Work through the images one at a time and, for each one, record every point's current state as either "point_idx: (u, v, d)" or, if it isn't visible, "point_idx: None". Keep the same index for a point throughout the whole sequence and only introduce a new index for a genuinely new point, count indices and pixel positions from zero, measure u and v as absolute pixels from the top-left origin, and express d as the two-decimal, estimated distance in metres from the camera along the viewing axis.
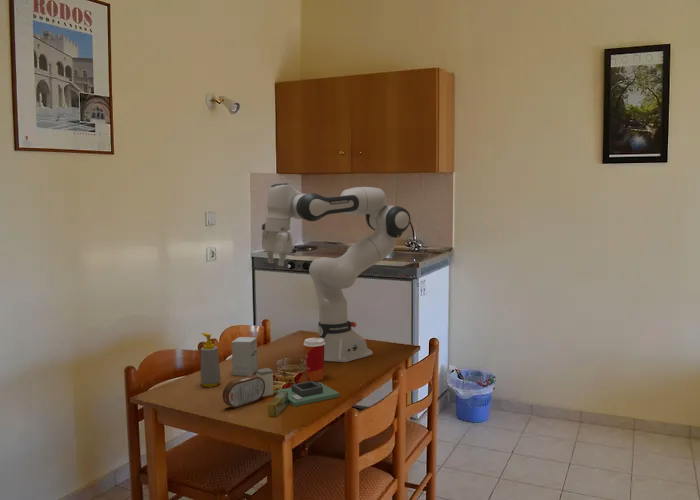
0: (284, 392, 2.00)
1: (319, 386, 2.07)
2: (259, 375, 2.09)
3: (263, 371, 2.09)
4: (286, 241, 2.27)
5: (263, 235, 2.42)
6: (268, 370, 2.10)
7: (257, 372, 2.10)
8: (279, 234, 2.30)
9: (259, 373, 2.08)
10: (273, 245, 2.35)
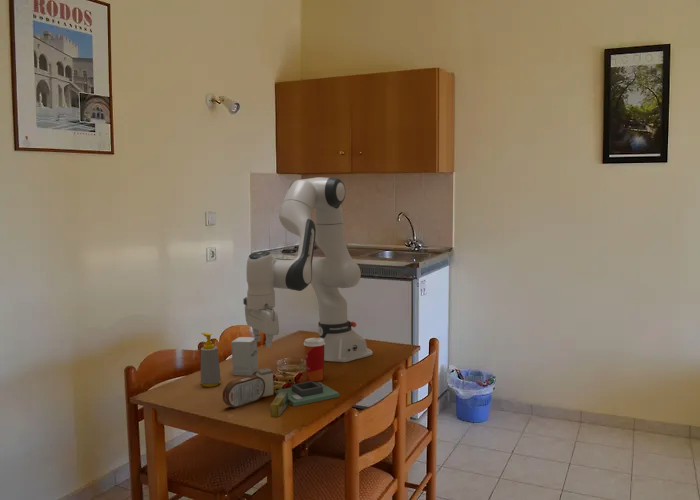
0: (284, 392, 2.00)
1: (319, 386, 2.07)
2: (259, 375, 2.09)
3: (263, 371, 2.09)
4: (271, 321, 1.99)
5: (246, 310, 2.14)
6: (268, 370, 2.10)
7: (257, 372, 2.10)
8: (263, 313, 2.02)
9: (259, 373, 2.08)
10: (257, 324, 2.07)
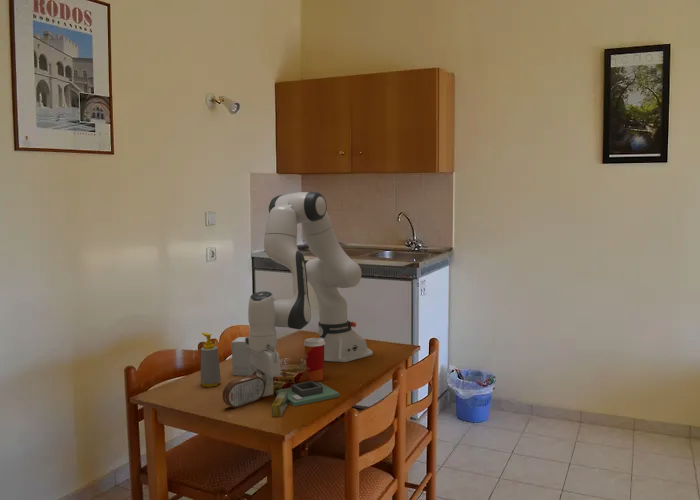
0: (284, 392, 2.00)
1: (319, 386, 2.07)
2: (259, 375, 2.09)
3: None
4: (273, 363, 2.01)
5: (248, 349, 2.15)
6: None
7: (257, 372, 2.10)
8: (265, 354, 2.03)
9: (259, 373, 2.08)
10: (259, 364, 2.08)
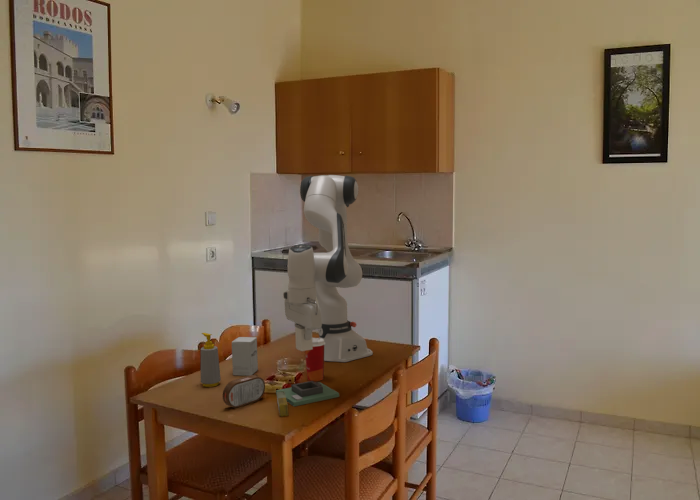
0: (282, 392, 2.00)
1: (319, 386, 2.07)
2: (298, 329, 2.05)
3: None
4: (314, 315, 1.97)
5: (286, 304, 2.11)
6: None
7: (296, 326, 2.06)
8: (305, 306, 1.99)
9: (298, 327, 2.04)
10: (298, 318, 2.04)
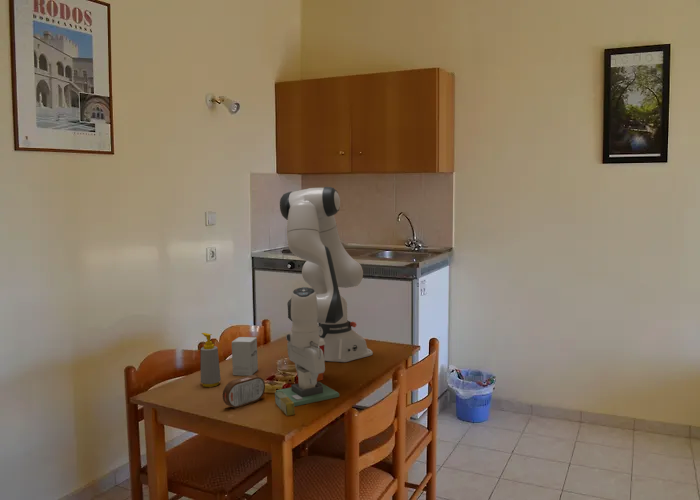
0: (281, 392, 2.00)
1: (319, 386, 2.07)
2: (301, 372, 2.06)
3: None
4: (317, 360, 1.98)
5: (289, 345, 2.12)
6: None
7: (299, 369, 2.07)
8: (308, 350, 2.01)
9: (301, 370, 2.06)
10: (302, 361, 2.06)
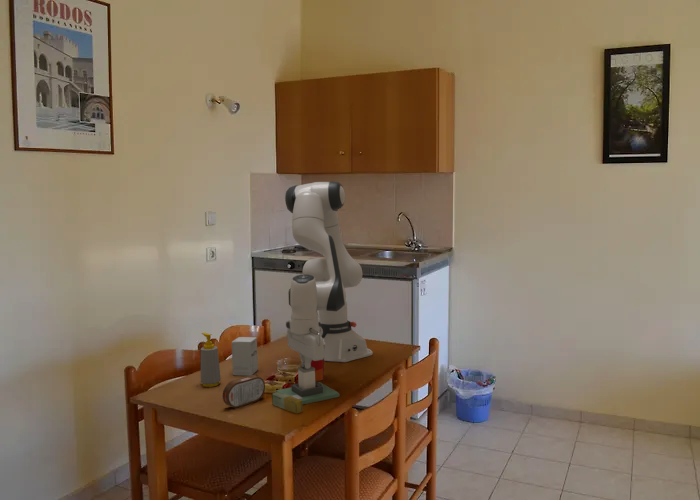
0: (278, 392, 2.00)
1: (319, 386, 2.07)
2: (301, 372, 2.06)
3: (305, 368, 2.06)
4: (317, 346, 1.98)
5: (288, 333, 2.12)
6: None
7: (299, 369, 2.07)
8: (308, 337, 2.00)
9: (301, 370, 2.06)
10: (301, 348, 2.05)
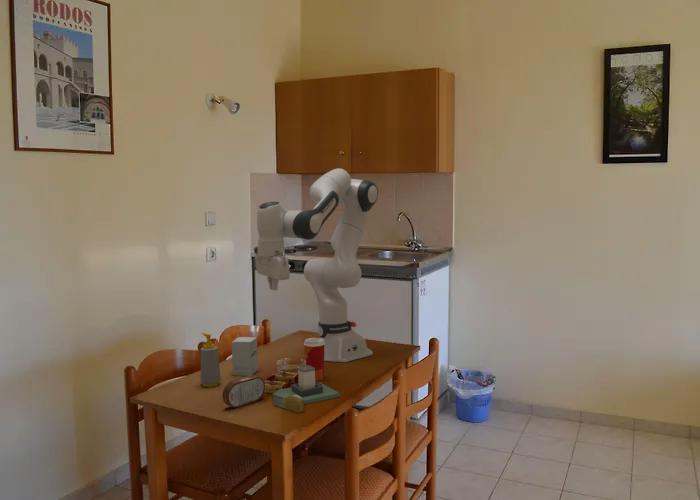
0: (278, 392, 2.00)
1: (319, 386, 2.07)
2: (301, 372, 2.06)
3: (305, 368, 2.06)
4: (282, 266, 2.11)
5: (256, 259, 2.25)
6: (310, 367, 2.07)
7: (299, 369, 2.07)
8: (274, 259, 2.13)
9: (301, 370, 2.06)
10: (268, 270, 2.18)
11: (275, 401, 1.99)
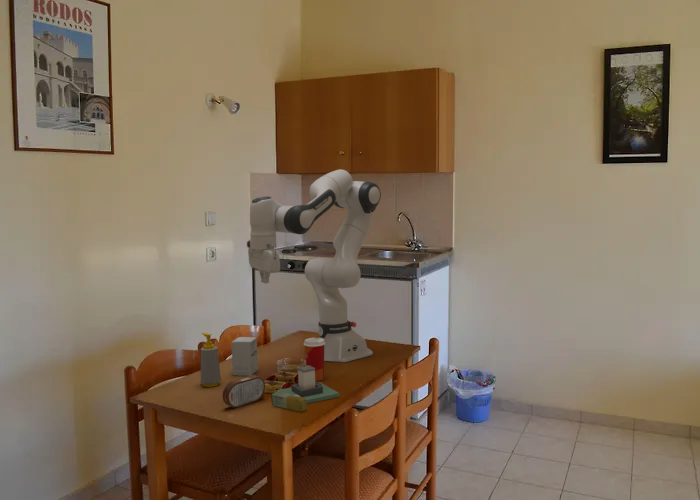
0: (277, 392, 2.00)
1: (319, 386, 2.07)
2: (301, 372, 2.06)
3: (305, 368, 2.06)
4: (273, 259, 2.15)
5: (249, 252, 2.29)
6: (310, 367, 2.07)
7: (299, 369, 2.07)
8: (265, 252, 2.17)
9: (301, 370, 2.06)
10: (260, 264, 2.22)
11: (275, 401, 1.99)
